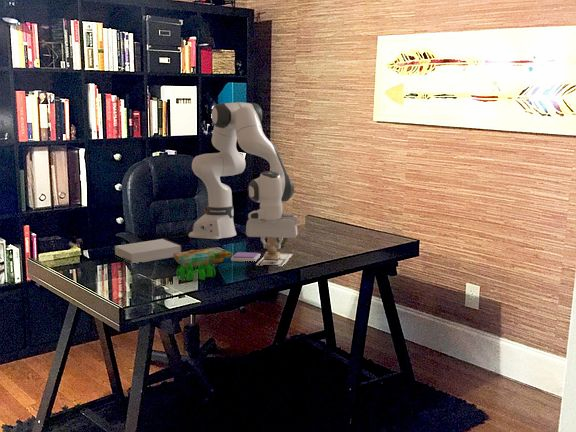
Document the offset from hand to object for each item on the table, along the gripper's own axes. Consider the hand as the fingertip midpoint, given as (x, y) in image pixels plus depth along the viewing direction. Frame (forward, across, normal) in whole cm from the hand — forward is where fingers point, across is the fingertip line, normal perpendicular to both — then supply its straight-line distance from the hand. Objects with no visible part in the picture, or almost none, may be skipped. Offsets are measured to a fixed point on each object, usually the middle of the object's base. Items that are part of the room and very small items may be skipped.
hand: (272, 248), depth 257 cm
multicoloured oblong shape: (+6, +28, +3) cm, 29 cm away
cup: (+6, +3, -29) cm, 29 cm away
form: (+6, 0, -5) cm, 7 cm away
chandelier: (+6, +23, +24) cm, 34 cm away
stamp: (+4, 0, 0) cm, 4 cm away
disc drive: (+6, +54, -4) cm, 54 cm away
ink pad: (+6, +12, -5) cm, 14 cm away
